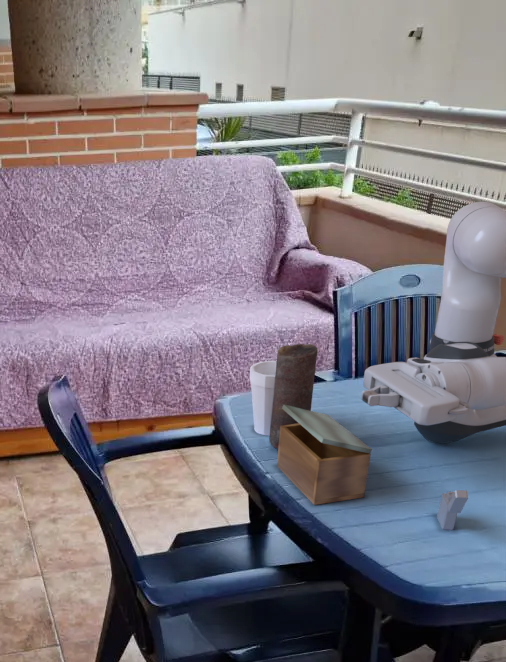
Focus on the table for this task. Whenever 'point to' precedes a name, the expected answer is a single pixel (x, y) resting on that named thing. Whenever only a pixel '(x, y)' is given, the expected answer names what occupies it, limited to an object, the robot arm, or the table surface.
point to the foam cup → (262, 394)
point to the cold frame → (321, 466)
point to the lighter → (451, 508)
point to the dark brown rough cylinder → (292, 385)
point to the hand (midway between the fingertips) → (365, 398)
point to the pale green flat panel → (326, 429)
